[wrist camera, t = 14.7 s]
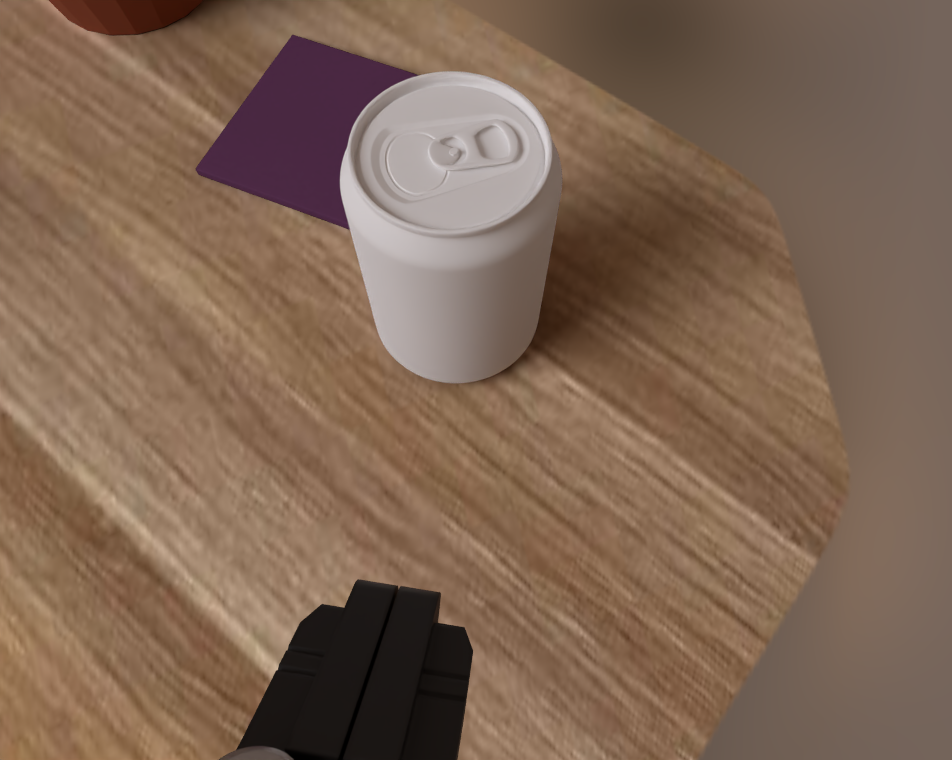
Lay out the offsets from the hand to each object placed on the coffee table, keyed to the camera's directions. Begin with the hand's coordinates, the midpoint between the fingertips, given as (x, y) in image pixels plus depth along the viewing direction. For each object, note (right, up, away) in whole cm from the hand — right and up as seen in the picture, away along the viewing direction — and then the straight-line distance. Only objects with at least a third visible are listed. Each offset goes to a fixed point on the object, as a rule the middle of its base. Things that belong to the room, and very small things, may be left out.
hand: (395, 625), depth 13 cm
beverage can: (0, +8, +23) cm, 24 cm away
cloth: (-6, +18, +27) cm, 33 cm away
